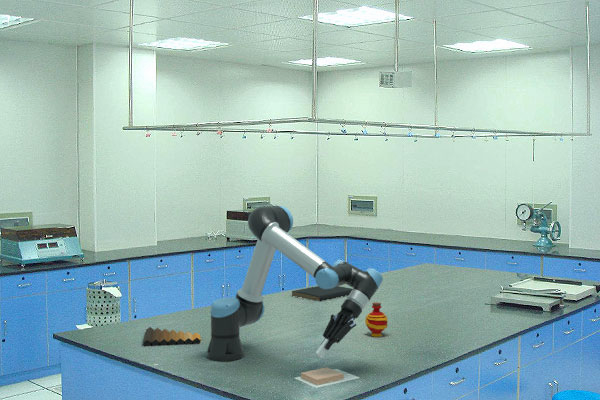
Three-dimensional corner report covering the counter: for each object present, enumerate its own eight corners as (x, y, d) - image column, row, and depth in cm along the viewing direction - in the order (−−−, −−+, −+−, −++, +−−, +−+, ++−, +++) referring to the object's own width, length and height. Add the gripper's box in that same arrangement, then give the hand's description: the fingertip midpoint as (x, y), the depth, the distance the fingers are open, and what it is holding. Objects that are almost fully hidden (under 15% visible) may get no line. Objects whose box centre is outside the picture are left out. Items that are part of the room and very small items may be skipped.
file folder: (327, 283, 438) (356, 288, 421) (327, 290, 438) (356, 295, 421) (291, 290, 414) (320, 296, 397) (291, 297, 414) (320, 303, 397)
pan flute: (146, 334, 321) (143, 347, 296) (146, 326, 321) (143, 339, 296) (199, 331, 325) (200, 345, 300) (199, 324, 325) (200, 337, 300)
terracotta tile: (326, 367, 255) (300, 372, 248) (343, 373, 247) (316, 379, 240) (326, 372, 255) (300, 378, 248) (343, 379, 247) (316, 385, 240)
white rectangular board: (336, 370, 260) (336, 368, 260) (360, 379, 249) (360, 377, 249) (293, 379, 249) (293, 377, 249) (316, 389, 237) (316, 387, 237)
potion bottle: (375, 331, 322) (375, 300, 322) (392, 335, 315) (392, 303, 314) (360, 335, 316) (360, 303, 315) (376, 339, 308) (377, 306, 307)
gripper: (371, 313, 251) (335, 365, 243) (348, 307, 262) (314, 357, 253) (360, 301, 248) (323, 353, 239) (338, 295, 259) (302, 345, 250)
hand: (318, 355), depth 246 cm, fingers closed
